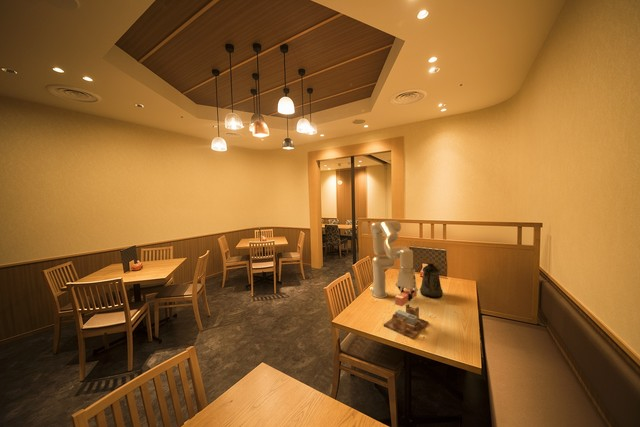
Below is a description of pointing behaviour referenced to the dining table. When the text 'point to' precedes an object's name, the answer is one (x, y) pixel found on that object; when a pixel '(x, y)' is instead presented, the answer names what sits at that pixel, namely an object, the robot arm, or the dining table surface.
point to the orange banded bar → (404, 297)
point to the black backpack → (431, 282)
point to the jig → (403, 326)
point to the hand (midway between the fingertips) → (406, 298)
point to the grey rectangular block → (410, 318)
